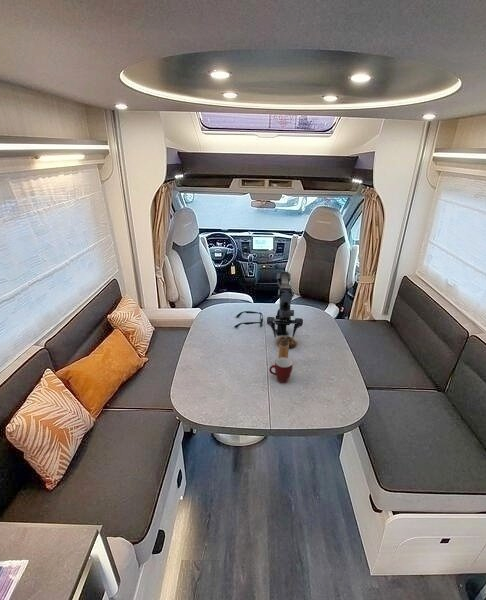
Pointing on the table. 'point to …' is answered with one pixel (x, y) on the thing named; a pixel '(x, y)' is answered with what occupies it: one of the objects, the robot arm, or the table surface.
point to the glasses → (249, 322)
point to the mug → (282, 369)
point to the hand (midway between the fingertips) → (284, 337)
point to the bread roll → (287, 338)
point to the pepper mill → (283, 349)
